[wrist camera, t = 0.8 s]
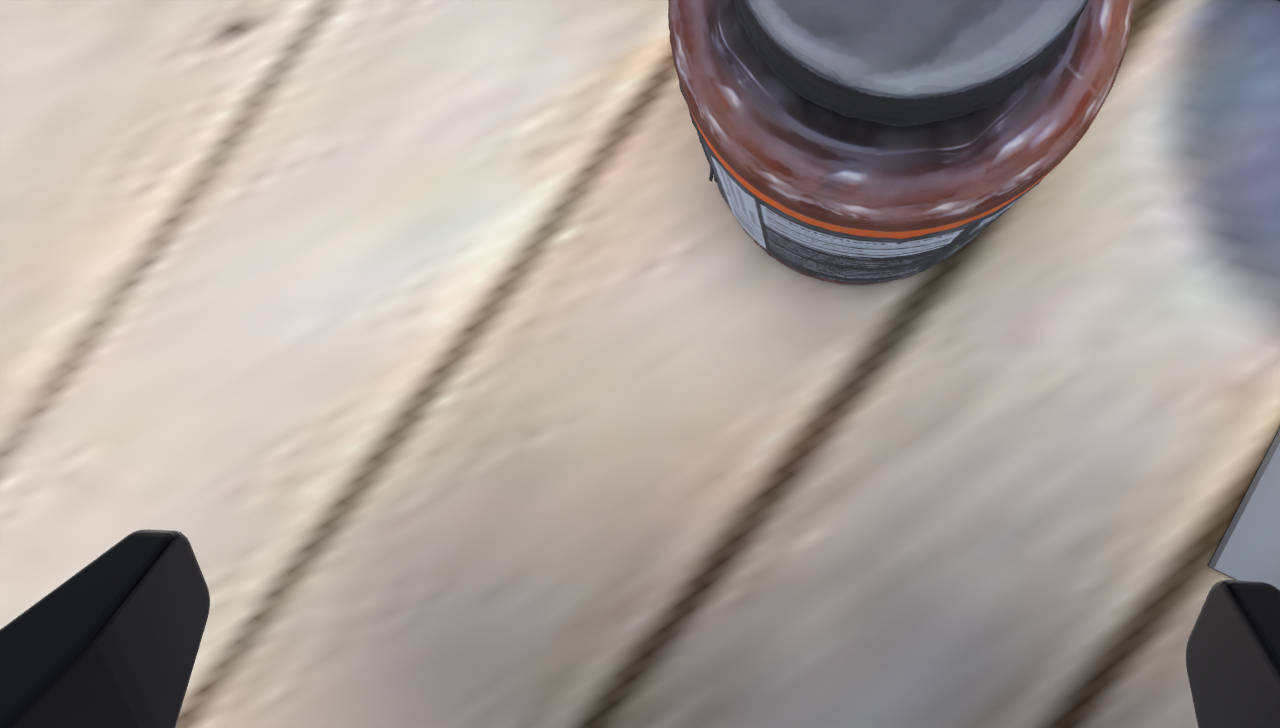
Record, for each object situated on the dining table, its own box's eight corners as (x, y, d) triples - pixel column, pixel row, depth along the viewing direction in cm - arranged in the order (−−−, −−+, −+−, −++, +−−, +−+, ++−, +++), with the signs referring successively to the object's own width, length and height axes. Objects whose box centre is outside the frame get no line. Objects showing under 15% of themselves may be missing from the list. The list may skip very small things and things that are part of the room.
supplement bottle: (775, -37, 23) (758, -461, 11) (1053, 57, 22) (1330, -304, 11) (670, 231, 23) (551, 71, 12) (942, 334, 22) (1100, 268, 11)
